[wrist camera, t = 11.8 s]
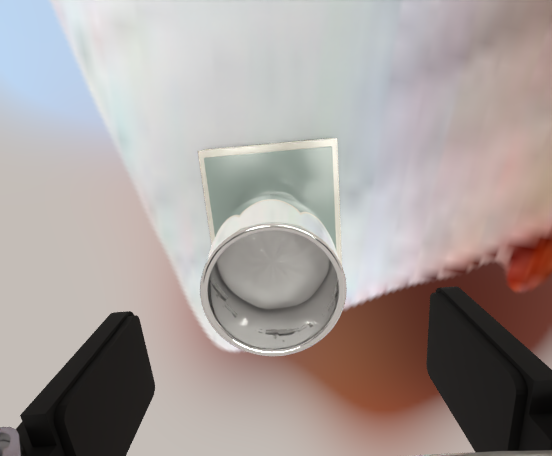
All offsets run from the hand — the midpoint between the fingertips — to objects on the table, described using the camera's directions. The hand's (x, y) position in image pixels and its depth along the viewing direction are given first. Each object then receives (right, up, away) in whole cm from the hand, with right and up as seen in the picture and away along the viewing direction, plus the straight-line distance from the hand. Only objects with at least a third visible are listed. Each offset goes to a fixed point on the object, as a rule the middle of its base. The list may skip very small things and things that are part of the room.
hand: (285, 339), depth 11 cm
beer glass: (-1, +5, +19) cm, 19 cm away
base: (-1, +6, +22) cm, 23 cm away
